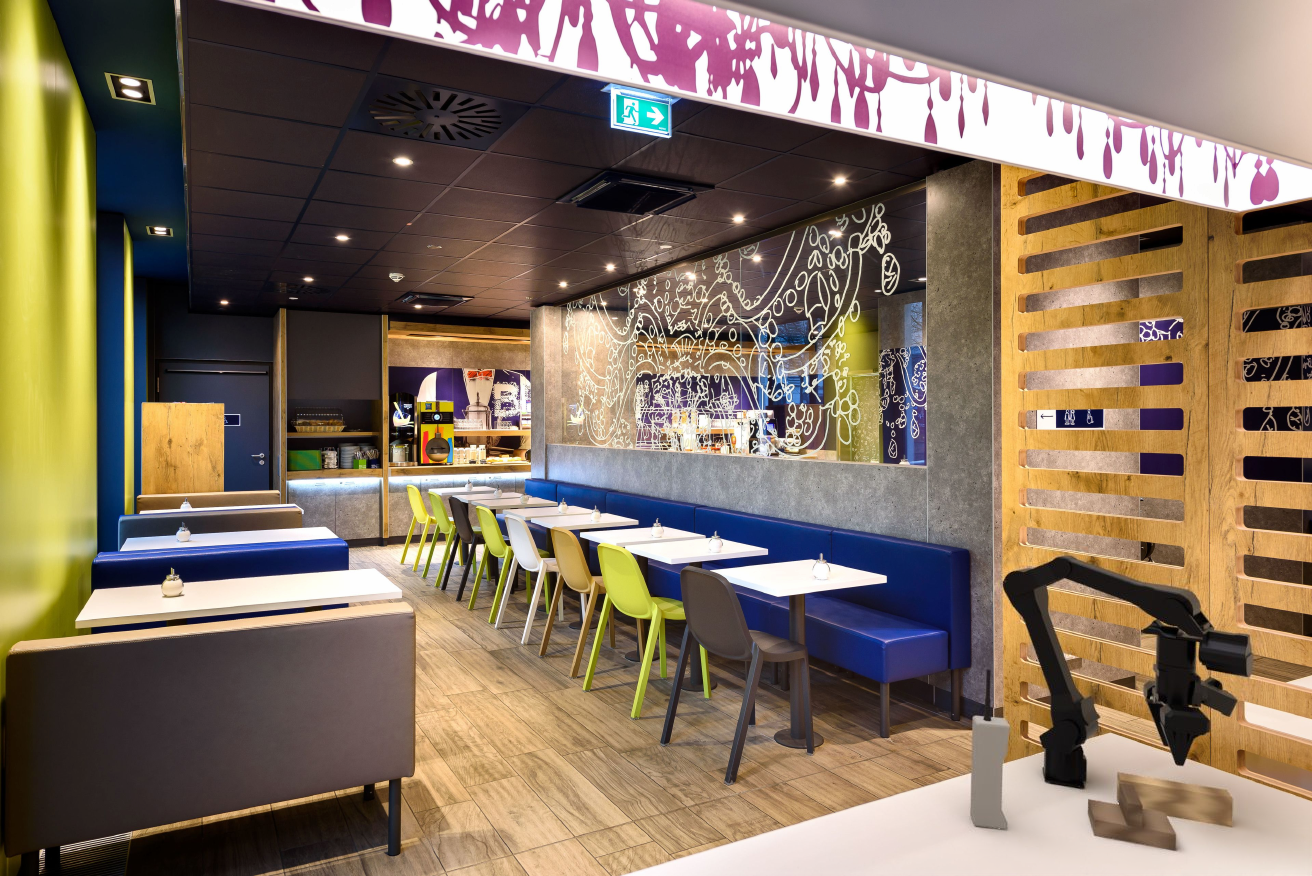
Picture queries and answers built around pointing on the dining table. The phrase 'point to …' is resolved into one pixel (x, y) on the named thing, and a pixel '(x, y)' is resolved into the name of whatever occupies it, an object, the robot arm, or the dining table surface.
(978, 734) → the vintage mobile phone
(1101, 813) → the ridge stand
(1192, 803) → the light wooden block
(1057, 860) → the dining table surface
